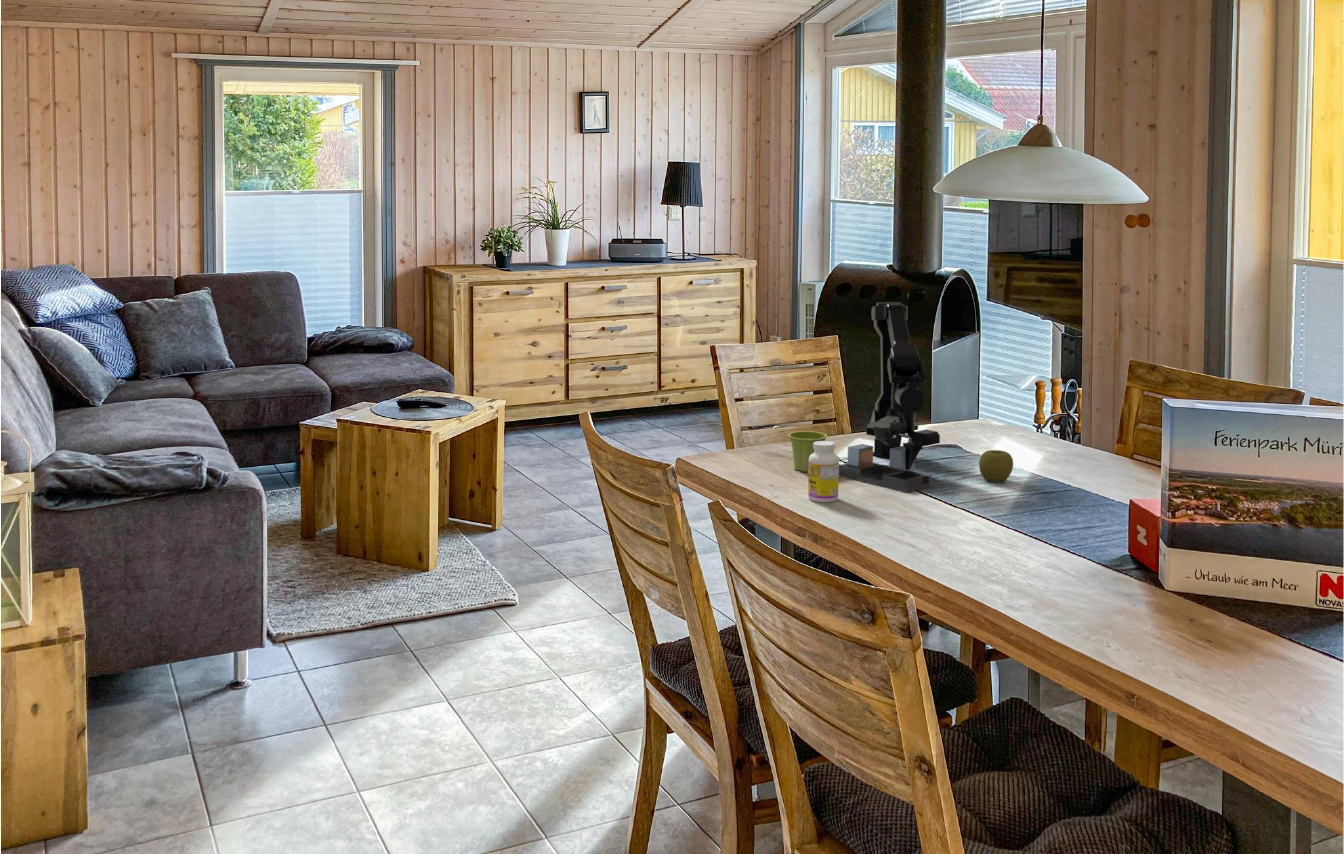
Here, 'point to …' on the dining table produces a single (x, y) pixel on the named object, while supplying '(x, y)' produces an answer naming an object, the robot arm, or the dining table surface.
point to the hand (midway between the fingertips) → (901, 467)
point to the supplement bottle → (823, 473)
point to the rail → (880, 471)
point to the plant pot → (804, 447)
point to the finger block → (899, 458)
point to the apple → (995, 465)
